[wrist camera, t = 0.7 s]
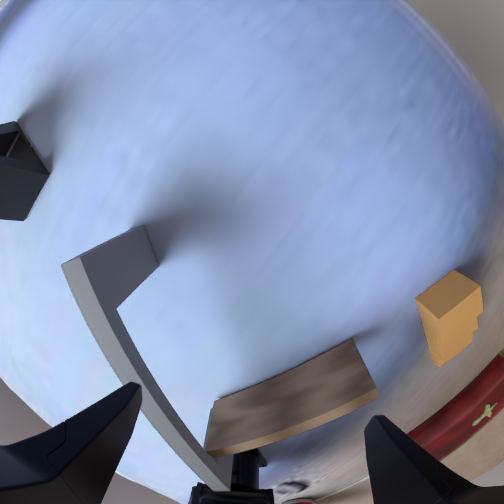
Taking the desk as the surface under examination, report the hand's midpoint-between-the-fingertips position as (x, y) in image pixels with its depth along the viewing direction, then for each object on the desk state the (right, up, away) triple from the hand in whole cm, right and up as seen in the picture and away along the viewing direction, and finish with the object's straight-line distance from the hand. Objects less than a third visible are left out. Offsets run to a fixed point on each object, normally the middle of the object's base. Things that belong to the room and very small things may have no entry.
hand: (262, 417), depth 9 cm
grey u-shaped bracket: (-6, -3, +15) cm, 16 cm away
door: (+3, -6, +15) cm, 16 cm away
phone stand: (-24, +14, +11) cm, 30 cm away
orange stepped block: (+19, -1, +14) cm, 23 cm away
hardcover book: (+30, -19, +19) cm, 40 cm away
